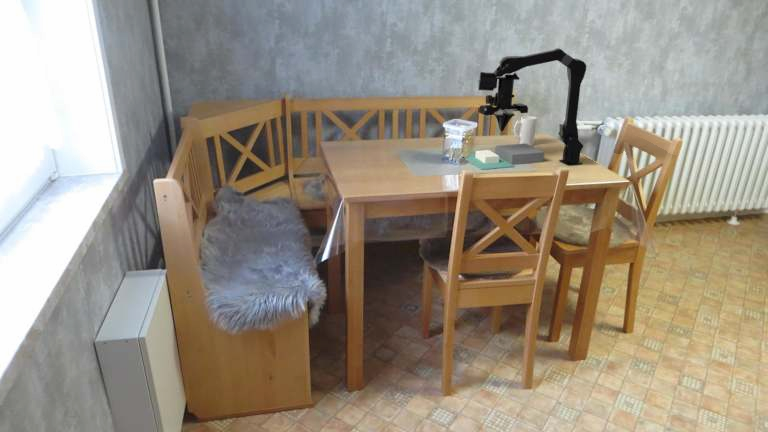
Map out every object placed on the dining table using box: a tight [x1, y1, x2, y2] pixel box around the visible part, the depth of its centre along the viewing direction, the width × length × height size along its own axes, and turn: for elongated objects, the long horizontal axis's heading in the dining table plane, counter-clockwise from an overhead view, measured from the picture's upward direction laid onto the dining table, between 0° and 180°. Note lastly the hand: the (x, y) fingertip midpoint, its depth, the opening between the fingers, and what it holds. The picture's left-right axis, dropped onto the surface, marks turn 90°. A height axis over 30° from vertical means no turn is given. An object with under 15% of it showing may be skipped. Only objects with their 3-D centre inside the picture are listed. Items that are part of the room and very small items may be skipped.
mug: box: [513, 115, 538, 147], centre depth 240 cm, size 10×7×12 cm, turn 102°
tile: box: [474, 149, 499, 164], centre depth 218 cm, size 9×6×3 cm, turn 16°
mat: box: [464, 152, 515, 171], centre depth 218 cm, size 20×14×1 cm
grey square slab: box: [494, 143, 545, 166], centre depth 221 cm, size 14×14×4 cm
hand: (501, 131), depth 215 cm, fingers closed
